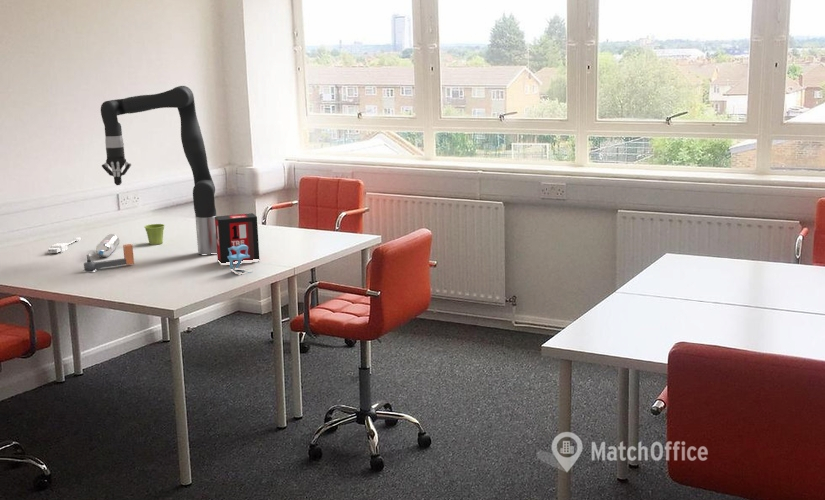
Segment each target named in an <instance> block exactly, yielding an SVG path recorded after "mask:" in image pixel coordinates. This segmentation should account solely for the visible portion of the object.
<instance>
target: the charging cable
mask: <svg viewBox="0 0 825 500" xmlns="http://www.w3.org/2000/svg"><path fill="white" fill-rule="evenodd" d="M81 239H82V238H81V237H74V238H73V239H72V241H69V242H68V243H67V242H62V243H61V242H58V243H55V244H52V245H50V247H49V248H47V253H48V254H59V253H58V252H62V253H64V252H66V251H67V250H68V246H69V245H71V244H72V243H75V241H79V242H81V241H80V240H81ZM65 250H66V251H65ZM63 251H64V252H63Z"/></svg>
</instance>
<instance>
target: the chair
mask: <svg viewBox="0 0 825 500" xmlns="http://www.w3.org/2000/svg"><path fill="white" fill-rule="evenodd" d="M231 249H233V250H235V251H236V252H237V254H235V255H232V253H231V251H230V250H231ZM228 250H229V253H230V254H229V256H227V257H228V259H229V262H230V265H229V267H230V269H233V270H234V265H233V260H239V261H238V263H237V264H236V265H235V267H236V268H239V267H240V265H241V264H240V263H241V261H242V259H244V258H249V257H250V255H248V254H247V251H248V246H246V245H244V244H241V245H239V246H238V247H236V246H232V247H231V248H228ZM241 250H246V252H245V254H246V255H245V254H241V253H240V251H241Z"/></svg>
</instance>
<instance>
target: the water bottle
mask: <svg viewBox="0 0 825 500" xmlns="http://www.w3.org/2000/svg"><path fill="white" fill-rule="evenodd" d="M119 245H120V238H119V236H118V235H117V234H115V233H110V234H109V233H108V234H107V235H106V236H104V238H103V239H102V240H101V241H100V242H99V243H98V244H97V245H96V247H95V250H94V251H95V254H96V255H97V257H99V258H102V259H106V258H108V257H109V256H110V255H111V254H112V253H113V252H114V251H115V250H116V249H117V248H118V246H119Z"/></svg>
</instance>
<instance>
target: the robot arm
mask: <svg viewBox="0 0 825 500" xmlns="http://www.w3.org/2000/svg"><path fill="white" fill-rule="evenodd" d="M164 108H165V109H166V108H170V109H171V108H177V111H178V114H179V117H180V118H179V119H180V140H181V145H182V150H183V153H184V155H185V157H186V160H187V162H188V164H189V166H190V169H191V172H192V176H193V183H194V184H193V185H194V186H193V188H192V200H193V209H194V210H193V211H194V214H195V215H194V217H195V228H196V229H195V230H196V240H197V241H196V243H197V254H198V253H199V254H211V253H217V242H216V228H215V216H217V210H216V202H215V193H216V187H215V184H214V181H213V178H212V176H211V172H210V169H209V165H208V157H207V151H206V147H205V142H204V138H203V135H202V131H201V127H200V124H199V121H198V116H197V111H196V103H195V96H194V93H193V90H192V89H191V88H189V87H188V86H186V85H178V86H176V87H175V86H174V87H173V88H172V89H169V90H166V91H163V92H160V93H155V94H154V93H153V94H142V95H135V96H128V97H125V98H119V99H117V98H116V99H109V100H105V101H104V102H102V103H101V105H100V116H101V119H102V123H103V126H104V135H105V136H104V137H105V138H104V139H105V142H104V143H105V151H106V160H105V162H104V163H103V164H101V168H102V169H103V170H104V171H105V172H106V173H107V174H108V175H109V176H110V177H111V176H112V177H113V181H114V185H115V186H121V184H122V182H123V181H122V176H124V175H126V173H127V172H128V171H129V169H130V168H131V166H132V163H129V162H128V161H127V159H126V157H125V144H124V138H123V130H122V124H121V122H119V120H118V119H119V118H118V116H121V115H122V116H123V115H126V114H135V113H142V112H147V111H152V110H156V109H164ZM123 168H124V169H123ZM122 169H123V170H122ZM199 254H198V255H199Z"/></svg>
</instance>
